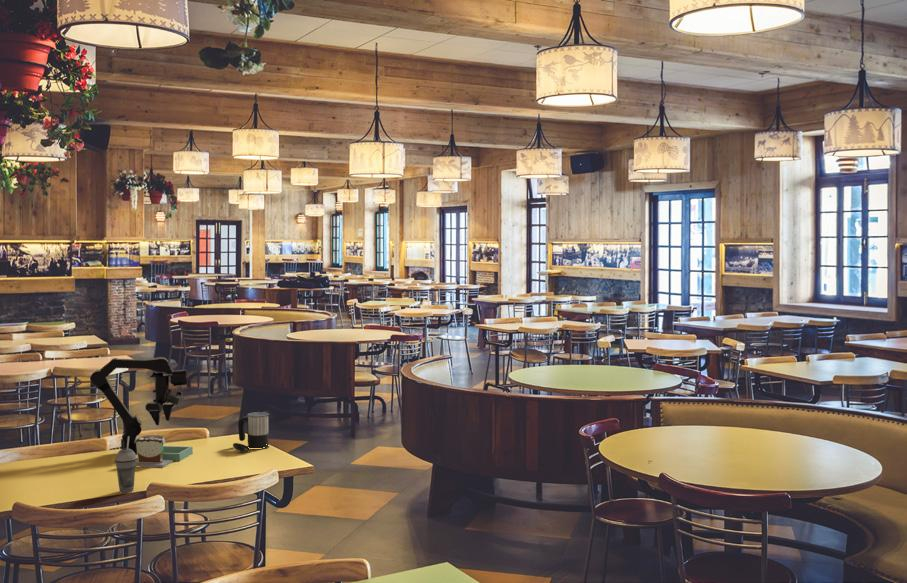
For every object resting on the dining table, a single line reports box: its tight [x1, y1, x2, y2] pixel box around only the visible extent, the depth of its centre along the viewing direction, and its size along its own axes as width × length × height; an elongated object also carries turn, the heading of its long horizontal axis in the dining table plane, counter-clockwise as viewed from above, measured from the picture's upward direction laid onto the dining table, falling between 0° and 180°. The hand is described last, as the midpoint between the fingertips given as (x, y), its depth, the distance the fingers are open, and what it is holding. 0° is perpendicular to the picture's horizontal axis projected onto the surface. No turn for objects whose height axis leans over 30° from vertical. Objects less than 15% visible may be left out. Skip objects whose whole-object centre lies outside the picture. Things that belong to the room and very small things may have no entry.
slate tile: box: [135, 459, 173, 468], centre depth 326 cm, size 14×8×1 cm, turn 83°
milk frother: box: [232, 411, 270, 453], centre depth 350 cm, size 14×16×15 cm
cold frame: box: [162, 445, 194, 462], centre depth 338 cm, size 18×12×3 cm, turn 83°
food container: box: [134, 434, 166, 463], centre depth 328 cm, size 12×6×10 cm, turn 83°
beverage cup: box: [114, 436, 138, 494], centre depth 289 cm, size 7×7×20 cm
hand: (162, 422), depth 348 cm, fingers open, 9 cm apart
